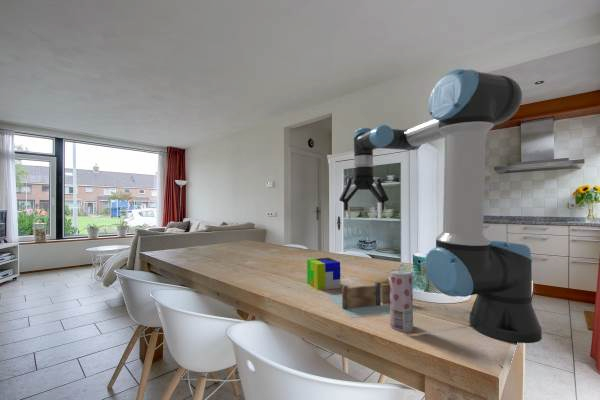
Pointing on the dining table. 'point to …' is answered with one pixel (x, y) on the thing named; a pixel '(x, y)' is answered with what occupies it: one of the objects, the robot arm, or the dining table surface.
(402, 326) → the beverage can
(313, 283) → the puzzle toy
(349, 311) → the card
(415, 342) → the dining table surface
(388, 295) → the fence fixed
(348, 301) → the fence panel
